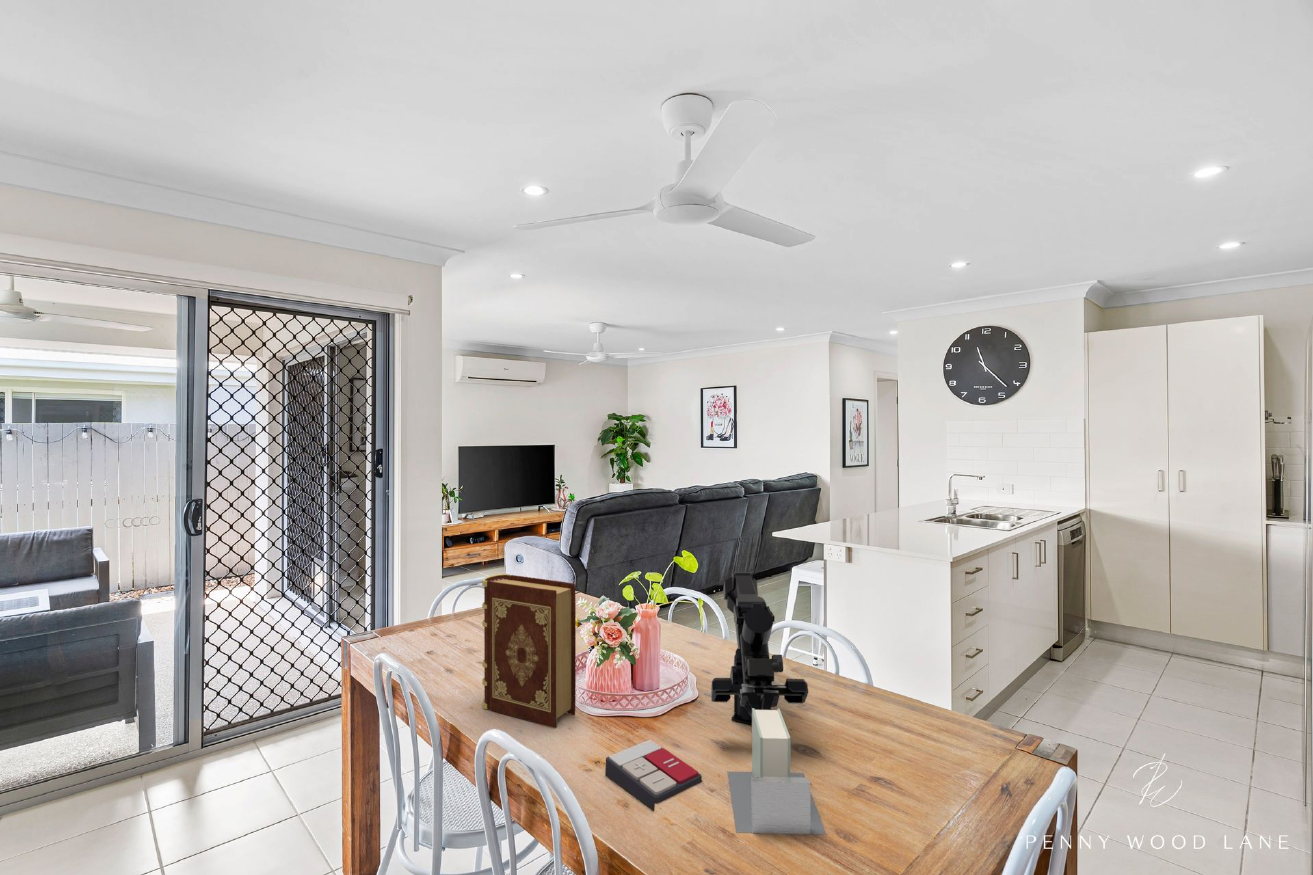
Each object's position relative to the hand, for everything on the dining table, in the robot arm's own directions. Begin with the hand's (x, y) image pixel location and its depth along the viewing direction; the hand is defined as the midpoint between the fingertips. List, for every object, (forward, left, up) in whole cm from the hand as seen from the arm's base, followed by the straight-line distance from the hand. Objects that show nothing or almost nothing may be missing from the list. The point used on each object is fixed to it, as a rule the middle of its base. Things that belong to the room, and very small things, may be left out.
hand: (762, 735), depth 117 cm
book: (+4, -9, -5) cm, 11 cm away
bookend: (+9, -18, -5) cm, 21 cm away
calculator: (-17, -13, -7) cm, 22 cm away
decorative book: (-56, 0, -7) cm, 57 cm away
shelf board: (+5, -11, -7) cm, 14 cm away
